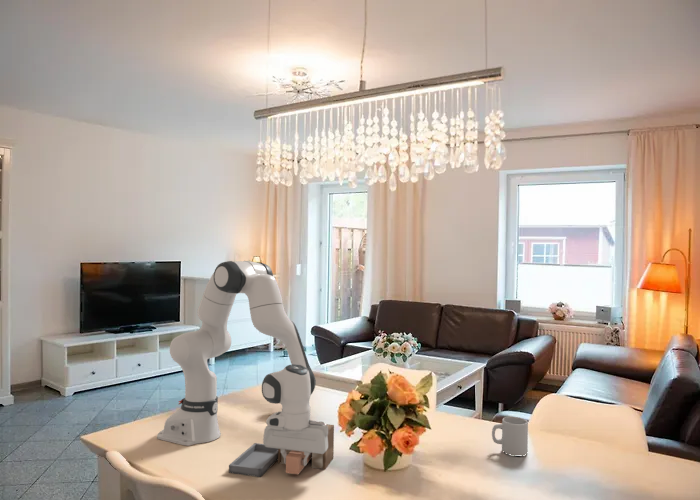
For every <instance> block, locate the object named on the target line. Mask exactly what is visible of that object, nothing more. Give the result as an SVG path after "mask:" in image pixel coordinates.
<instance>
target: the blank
mask: <svg viewBox="0 0 700 500" xmlns="http://www.w3.org/2000/svg"><path fill="white" fill-rule="evenodd" d="M305 456H306V455H304V452H302V451H293V450H291V452H290V453H289V454H288V455H287V456H286V464H285V473H286V474H292V475H300V473H301V471H303V469H304V468H305V467H306V466H302V465H301V459H302V458H305ZM310 460H312V453H310V455H309V456H308V458H307V464H308V463H309V461H310Z"/></svg>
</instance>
